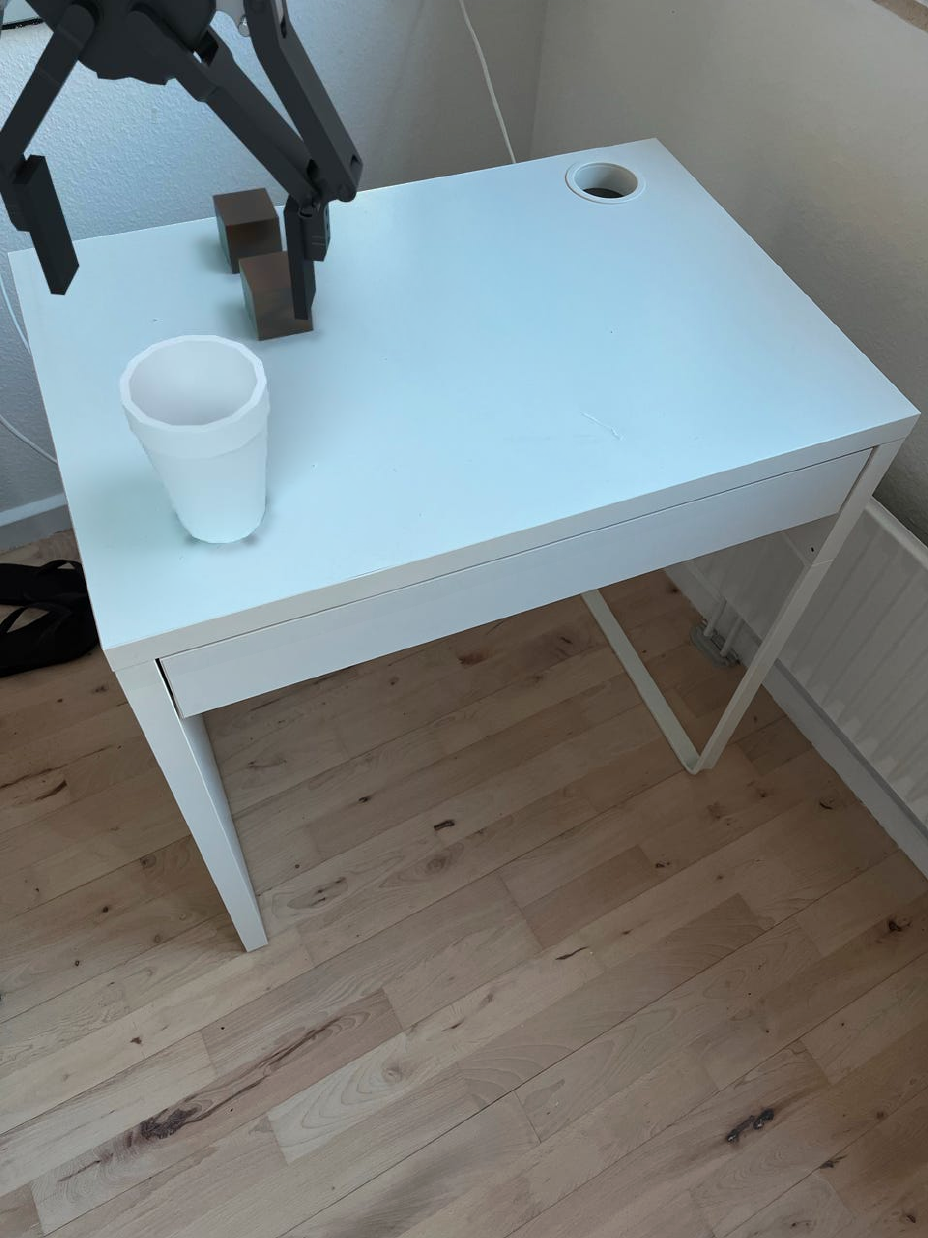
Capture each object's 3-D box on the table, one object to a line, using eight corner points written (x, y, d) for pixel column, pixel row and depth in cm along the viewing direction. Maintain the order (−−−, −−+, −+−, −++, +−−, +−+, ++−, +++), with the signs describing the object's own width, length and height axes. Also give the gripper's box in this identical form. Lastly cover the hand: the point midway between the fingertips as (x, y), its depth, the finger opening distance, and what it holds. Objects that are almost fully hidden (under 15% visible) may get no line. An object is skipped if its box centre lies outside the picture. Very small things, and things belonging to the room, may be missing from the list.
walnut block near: (259, 340, 83) (252, 293, 79) (245, 306, 86) (237, 258, 82) (313, 330, 85) (309, 282, 81) (298, 296, 87) (293, 248, 83)
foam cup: (185, 577, 68) (146, 450, 58) (142, 491, 73) (99, 359, 62) (304, 531, 72) (289, 403, 61) (257, 452, 76) (234, 319, 65)
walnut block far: (232, 273, 88) (224, 225, 84) (220, 243, 91) (212, 195, 87) (284, 264, 90) (279, 217, 86) (271, 234, 92) (265, 186, 88)
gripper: (421, -185, 38) (412, 273, 55) (-200, -250, 37) (-11, 230, 55) (398, -114, 33) (397, 358, 51) (-302, -187, 33) (-62, 311, 51)
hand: (185, 292), depth 53 cm, fingers open, 13 cm apart
